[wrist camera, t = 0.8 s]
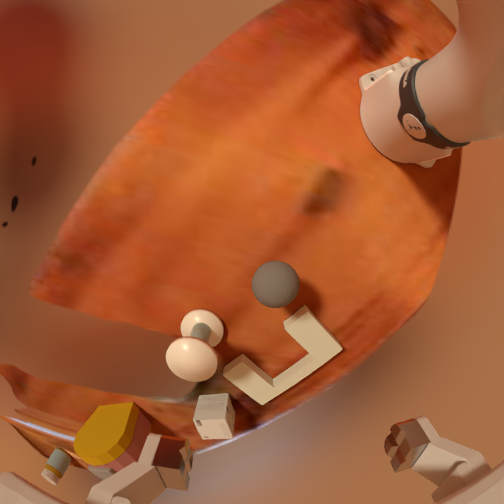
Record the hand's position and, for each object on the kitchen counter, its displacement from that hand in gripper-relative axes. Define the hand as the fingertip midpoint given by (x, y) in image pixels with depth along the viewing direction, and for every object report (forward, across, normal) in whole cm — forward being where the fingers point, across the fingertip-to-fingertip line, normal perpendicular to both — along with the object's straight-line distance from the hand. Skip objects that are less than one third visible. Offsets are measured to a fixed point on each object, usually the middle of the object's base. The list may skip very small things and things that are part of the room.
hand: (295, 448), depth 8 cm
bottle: (+34, +67, +72) cm, 104 cm away
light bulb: (+34, -2, +2) cm, 34 cm away
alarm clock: (+34, +30, +38) cm, 59 cm away
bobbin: (+33, +9, +12) cm, 37 cm away
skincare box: (+34, +8, +30) cm, 46 cm away
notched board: (+33, -4, +18) cm, 38 cm away
